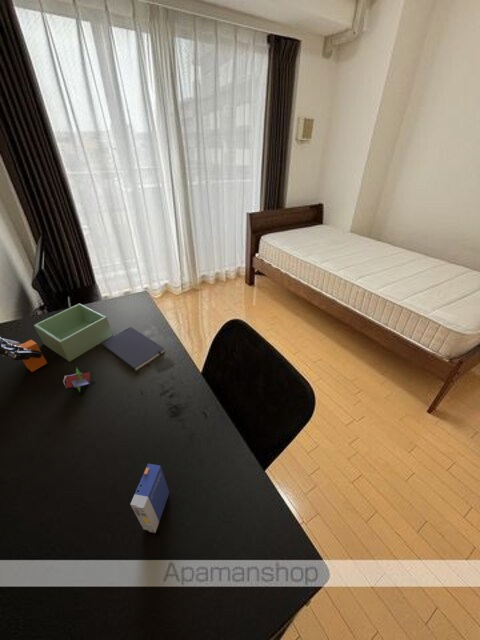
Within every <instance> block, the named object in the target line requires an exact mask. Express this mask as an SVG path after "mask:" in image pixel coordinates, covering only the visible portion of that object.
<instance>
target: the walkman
mask: <svg viewBox="0 0 480 640" xmlns="http://www.w3.org/2000/svg"><path fill="white" fill-rule="evenodd" d="M169 495H170V490H169V487H168V484H167V481H166V478H165V475H164V471H163V468H162V466H161V465H160V464H159V465H158V464H153V463H147V465H146V467H145V469H144V472H143V474H142V477H141V478H140V481H139V483H138V485H137V488H136V490H135V492H134V495H133V497H132V499H131V502H130V507H131V510H133V512H134V514H135V516H136V518H137V520H138V522H139V524H140V526H141V527H142V529H143V530H145V531H148V532H149V533H154V534H156V532H157V530H158V527H159V524H160V521H161V518H162V516H163V513H164V509H165V506H166V504H167V501H168V498H169Z"/></svg>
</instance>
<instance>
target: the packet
mask: <svg viewBox="0 0 480 640" xmlns="http://www.w3.org/2000/svg"><path fill="white" fill-rule="evenodd" d="M20 344H21V345H19V346H22V347H23V348H24V349H30V350H36V351H41V349H40V346H39V345H38V344H37V342H35V341H34V340H33V339H29V340H27V341H25V342H23V343H20ZM18 351H19V348H18ZM21 361H22V363H23V364H24V365H25V367H26V368H27V369H28V370H29V371H30V372H31V373H33V372H35V371H36V370H38V369H40V368H42V367H43V366H45V365H47V364H48V362H47V359H46V358H45V356H44V353H42V356H41V357H40V358H35V357H30V358H29V360H21Z"/></svg>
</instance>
